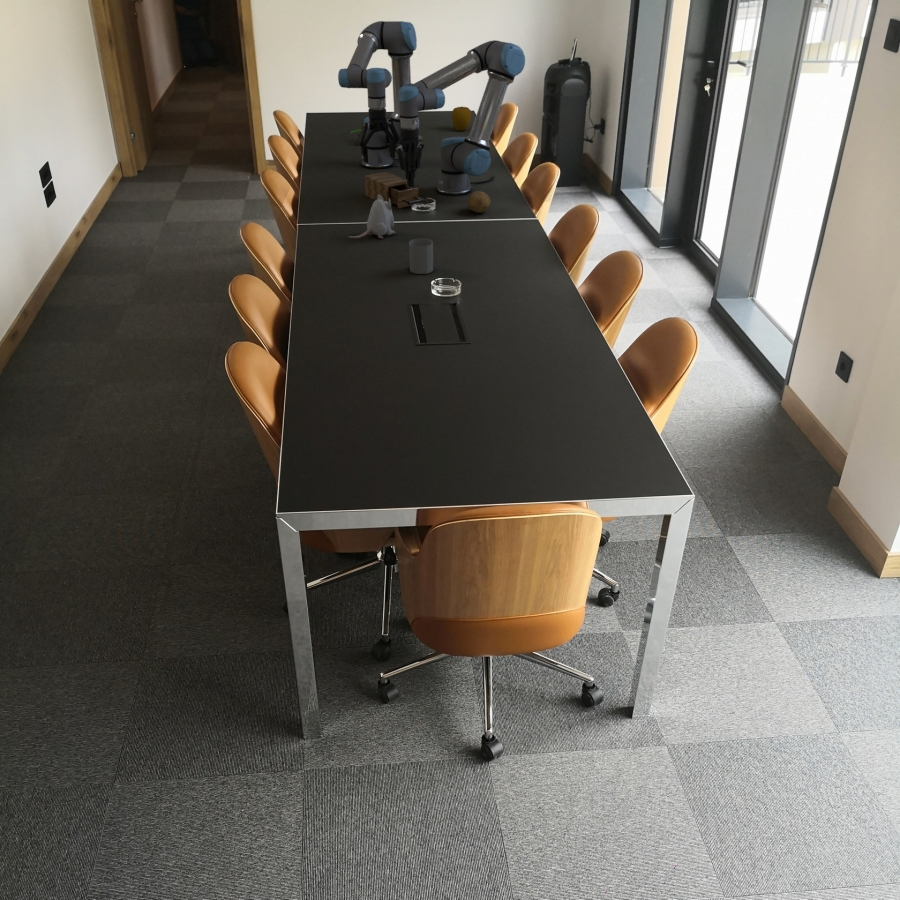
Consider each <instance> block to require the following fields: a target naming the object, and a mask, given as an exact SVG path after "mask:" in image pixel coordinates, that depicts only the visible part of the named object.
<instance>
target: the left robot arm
mask: <svg viewBox="0 0 900 900" xmlns="http://www.w3.org/2000/svg"><path fill="white" fill-rule="evenodd" d="M417 41H418V40H417V32H416V29H415V26H414V24H413V23H412V22H410V21H403V20H402V21H400V20H397V21H396V20H395V21H394V20H393V21H391V20H389V21H387V20H385V21H384V20H379V21H374V22H373V23H370V24H369V25H367V26H366V27H365V28H364V29H362V31H361V32H360V34H359V36H358V38H357V41H356V42H357V43H356V44H357V46H356V48H355V50H354V52H353V54H352V57H351V59H350V60H349V63H348V66H347V68H346V67H344V68H340V69H339V70H338V73H337V80H338V85H339V87H340V88H344V89H365V90H366V89H367V108H368V112H367V113H368V116H366V117H365V118H364V119H363V122H362V124H361V131H360V133H359V134H360V136H358V138H359V139H357V141H356V142H357V144H356V145H357V146H358V147H360V151H361V152H360V153H361V157H360V158H361V166H362V167H363V168H366V169H371V170H381V169H387V168H390V167H392V166H394V161H399V157H397V158H396V150H395V148H396V147H397V145H400V142H401V138H400V129H401V127H400V110H399V90H400V88H401V87H403V86H404V85H405V84H407V83H412V74H411V73H412V72H411V71H412V70H411V58H412V56H413V55H414V52H415V51H416V50H417V46H418V45H417ZM379 50H384V51H387V55H388V57H389V58H390V59H391V60H390V61H391V71H390V70H389V69H387V68H385V67H370V68H368V66H369V64H370V62H371V59H372V57H373V55H374V54H375V53H376V52H377V51H379ZM391 83H392V97H393V98H392V100H393V112H392V113H391V114H390V117H389V116H388V114H387V109H386V107H387V99H386V97H387V95H386V89H387V88H388V87H389V86H391ZM417 128H418V129H419V130H420V120H419V119H418V127H417ZM404 159H405V157H404Z"/></svg>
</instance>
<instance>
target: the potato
mask: <svg viewBox="0 0 900 900" xmlns="http://www.w3.org/2000/svg"><path fill="white" fill-rule="evenodd" d="M490 205H491V198H490V196H489V194H487V193H486V192H484V191H483V190H476V191H474V192H471V194H470V195H469V197H468V199H467V207H468V208H469V209H470V211H472V212H475V213H477V214H481V213H485V212H486V211H488V210H489V208H490Z"/></svg>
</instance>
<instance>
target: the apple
mask: <svg viewBox="0 0 900 900" xmlns="http://www.w3.org/2000/svg"><path fill="white" fill-rule="evenodd" d="M451 121H452V125H453V128H454V129H455V131H457V132H463V131H466V130H467V129H468V128H469V126H470V124H471V121H472V111H471V108H469V107H467V106H462V105H461V106H457V107H454V108H452V111H451Z"/></svg>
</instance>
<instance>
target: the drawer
mask: <svg viewBox="0 0 900 900" xmlns="http://www.w3.org/2000/svg"><path fill="white" fill-rule="evenodd" d="M419 197H420V196H419V187H412V188H410V187H408V186H407V185H405V184H403V185H397V186H392V187H389V198H390V201H391V202H392V203H394V205H396V206H397V208H398V209H403V208H406V207H407V208H408V207H411V206H413V205H412V204H416V205H418V204H417V203H419V204H422V203H424V199H423V198H419Z"/></svg>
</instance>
